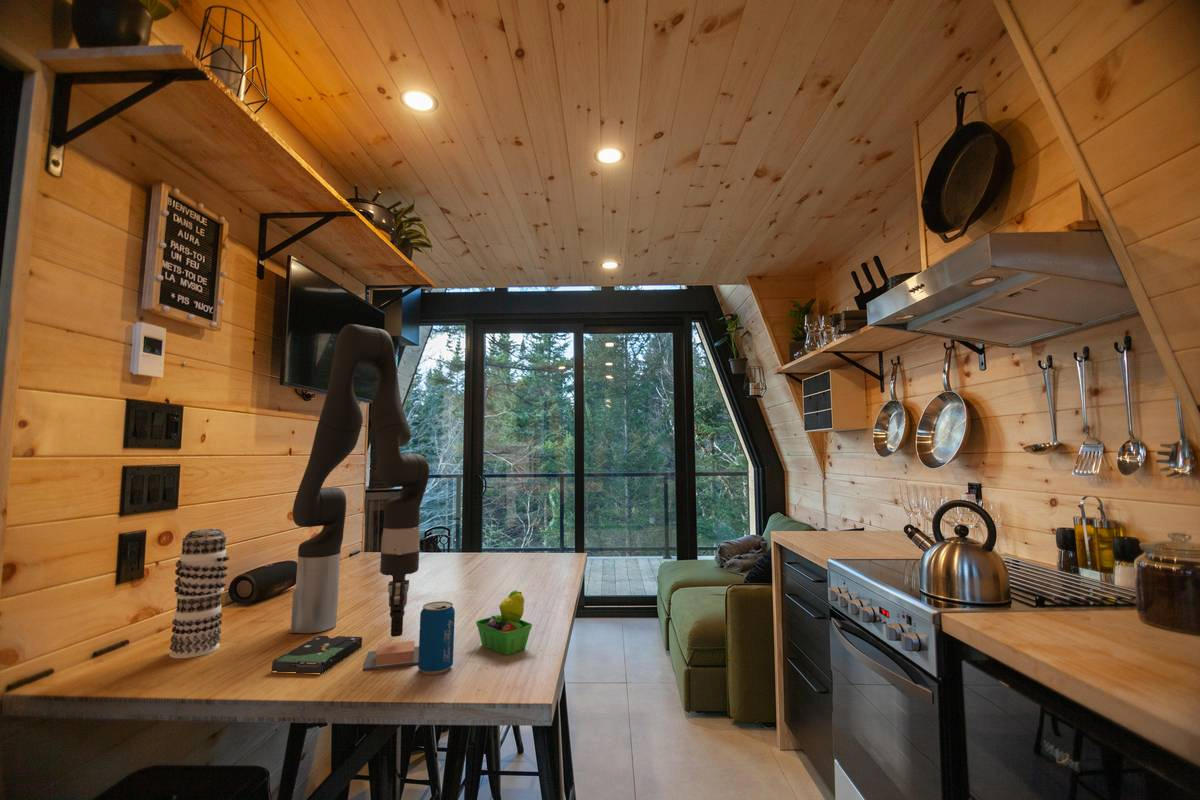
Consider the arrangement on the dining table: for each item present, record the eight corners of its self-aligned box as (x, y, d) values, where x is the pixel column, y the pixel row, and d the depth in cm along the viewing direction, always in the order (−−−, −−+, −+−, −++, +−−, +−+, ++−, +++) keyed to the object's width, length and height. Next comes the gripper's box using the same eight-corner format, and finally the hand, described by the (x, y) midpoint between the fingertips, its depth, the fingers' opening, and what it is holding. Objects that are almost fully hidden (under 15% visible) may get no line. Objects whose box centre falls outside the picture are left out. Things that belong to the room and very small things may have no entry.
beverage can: (433, 678, 96) (436, 611, 98) (410, 671, 100) (413, 606, 101) (460, 667, 102) (462, 603, 103) (437, 660, 105) (439, 599, 107)
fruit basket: (473, 645, 114) (474, 592, 115) (506, 635, 120) (507, 585, 122) (504, 659, 106) (506, 601, 107) (538, 647, 113) (539, 593, 114)
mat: (363, 670, 100) (363, 668, 100) (368, 653, 109) (368, 651, 109) (423, 663, 103) (423, 661, 103) (423, 647, 112) (423, 646, 112)
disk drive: (316, 648, 113) (269, 675, 99) (317, 635, 114) (271, 660, 99) (362, 649, 113) (322, 677, 98) (363, 636, 113) (323, 661, 98)
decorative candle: (206, 640, 116) (216, 526, 119) (231, 647, 112) (240, 529, 115) (157, 654, 108) (169, 531, 111) (182, 662, 104) (193, 534, 107)
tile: (378, 655, 107) (375, 666, 101) (378, 644, 107) (375, 654, 101) (414, 651, 109) (413, 662, 103) (414, 640, 109) (414, 650, 103)
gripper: (383, 544, 114) (379, 627, 112) (378, 555, 102) (373, 648, 100) (419, 543, 116) (416, 623, 114) (418, 553, 104) (415, 644, 102)
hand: (396, 635), depth 107 cm, fingers closed
